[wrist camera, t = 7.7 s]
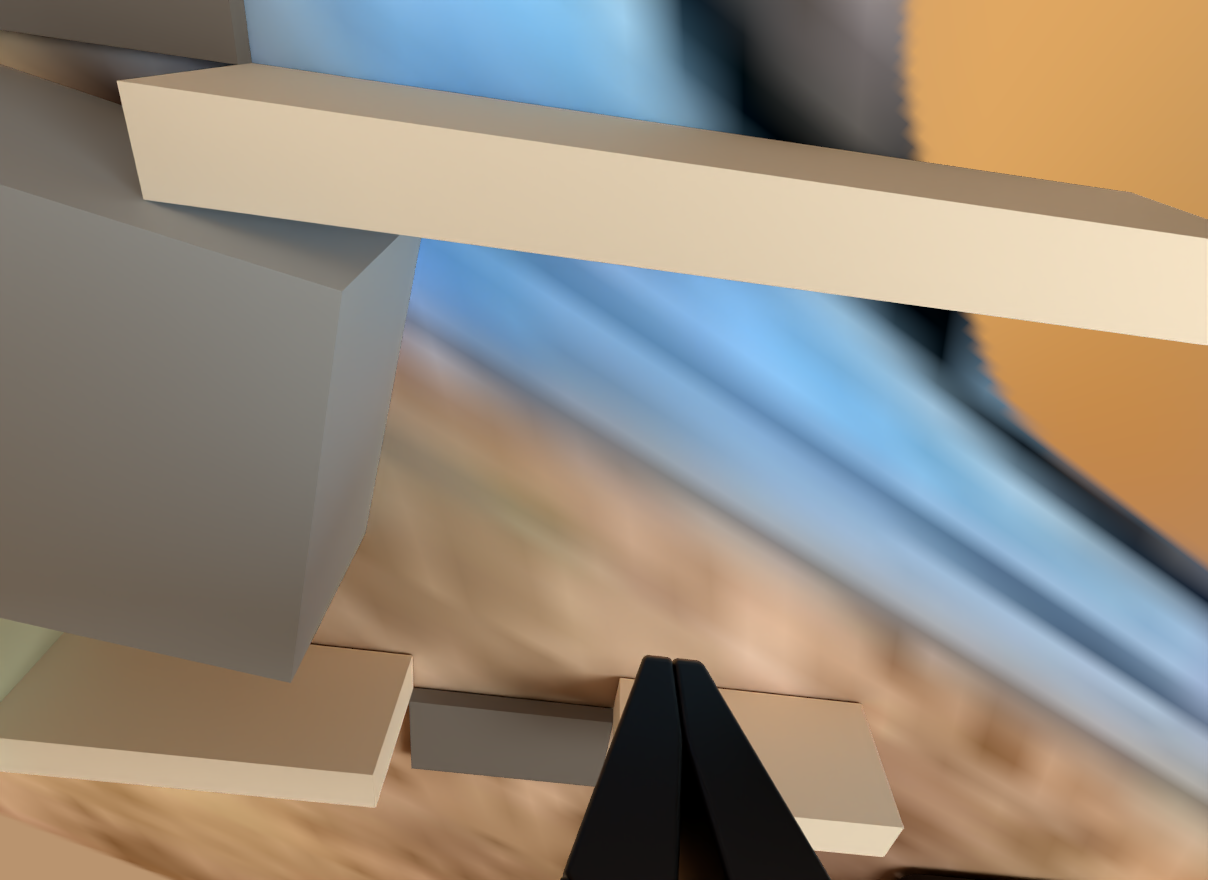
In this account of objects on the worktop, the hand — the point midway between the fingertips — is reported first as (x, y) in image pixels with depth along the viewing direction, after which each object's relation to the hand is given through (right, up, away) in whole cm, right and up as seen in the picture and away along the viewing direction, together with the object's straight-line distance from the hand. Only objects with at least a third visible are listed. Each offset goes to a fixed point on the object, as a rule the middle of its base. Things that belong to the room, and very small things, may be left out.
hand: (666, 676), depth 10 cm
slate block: (-8, +5, +2) cm, 10 cm away
